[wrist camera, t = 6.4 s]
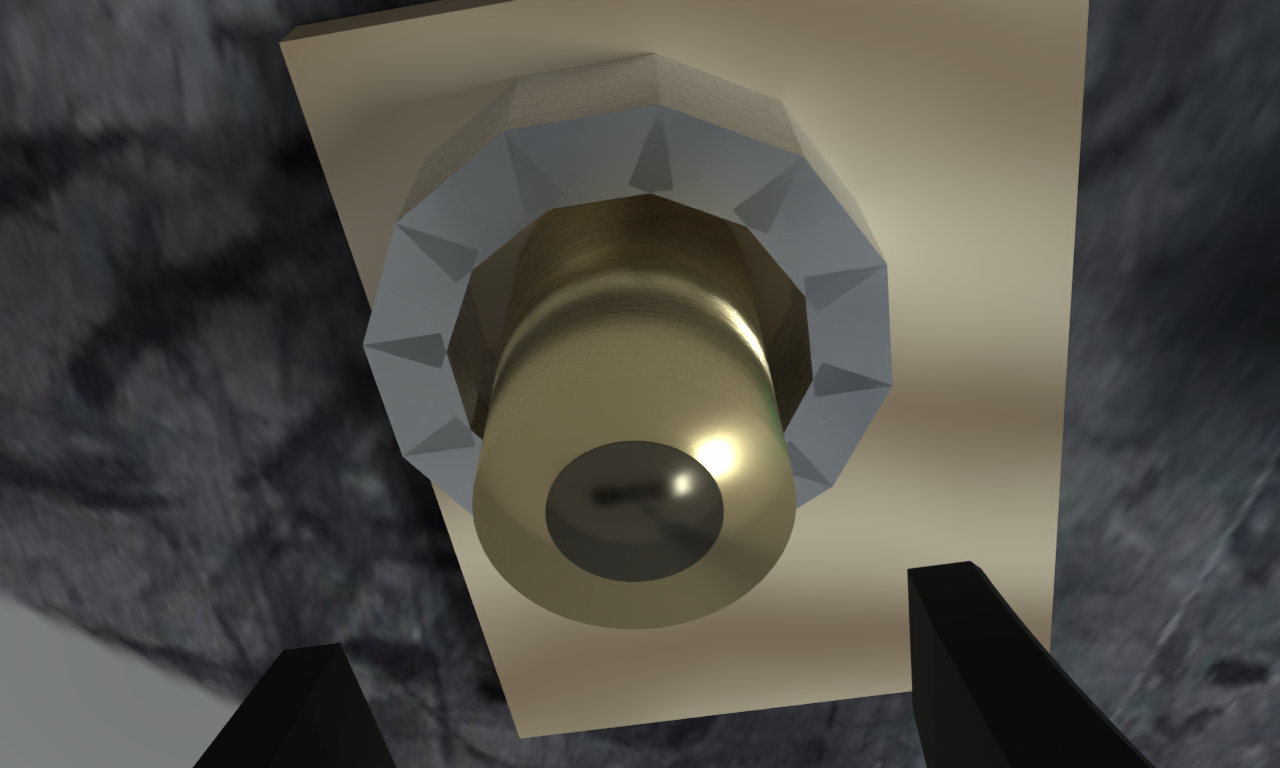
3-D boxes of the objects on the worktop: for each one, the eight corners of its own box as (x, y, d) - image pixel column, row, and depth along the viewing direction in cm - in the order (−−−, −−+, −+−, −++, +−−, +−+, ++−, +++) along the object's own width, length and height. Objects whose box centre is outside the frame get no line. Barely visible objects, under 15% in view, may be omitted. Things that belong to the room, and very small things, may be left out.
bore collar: (869, 440, 20) (899, 526, 18) (467, 497, 20) (449, 586, 18) (844, 20, 16) (878, 67, 14) (340, 107, 16) (298, 164, 14)
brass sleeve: (761, 368, 19) (811, 608, 14) (544, 403, 19) (516, 650, 14) (731, 159, 17) (778, 351, 12) (488, 202, 17) (430, 408, 12)
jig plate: (1033, 640, 24) (1048, 674, 23) (523, 704, 25) (520, 738, 24) (1070, -113, 16) (1095, -104, 15) (296, 26, 17) (279, 42, 16)
